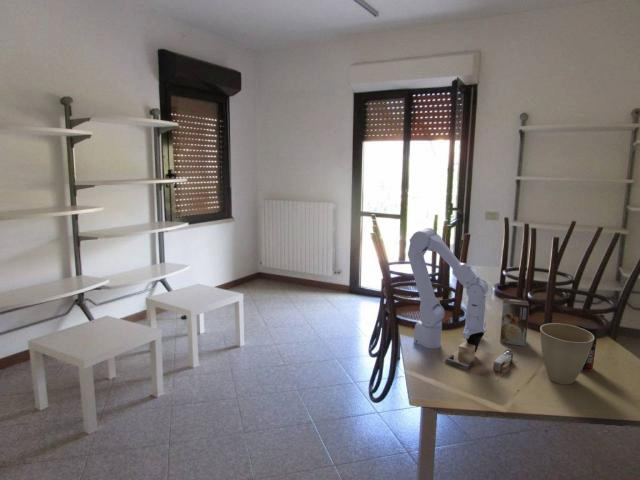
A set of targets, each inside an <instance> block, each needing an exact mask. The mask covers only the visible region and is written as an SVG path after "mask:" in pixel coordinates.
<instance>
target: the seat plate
mask: <svg viewBox="0 0 640 480" xmlns="http://www.w3.org/2000/svg"><path fill="white" fill-rule="evenodd" d="M458 353H459V348H458V349H457V350H456V351H454V352H452V353H451V354H449V355H448V356H447V357H445V358H444V359H442V360H441V362H442V363H444V364H447V365H450V366H453V367H456V368H459V369H461V370H465V371H467V372H470V373H473V374H476V375H479V376H482V377H484V378H487V379H489V380H492V381H496V382H498V381H499V380H500V379H501V378H502V377H503V376H504V375H505V374H507V373H508V371H510V370H511V369H512V368H513V367H514V366H515V365H516V364H517V363H518V361H516V360H514V359H513V362H512V363H508V362H506V363H505V364H504V365H503V366H502V370H501V372H498V371H495V370H493V365H494V361H495V360H496V359H497V358H498V357H499V356H500V355H499V354H498V355H497V354H494V353H491V352H488V351H485V350H481V349H478V348H477V351H476V352H475V356H474V360H473V361H471V362H470V363H467V362H464V361H461V360H458Z"/></svg>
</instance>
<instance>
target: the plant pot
mask: <svg viewBox="0 0 640 480" xmlns="http://www.w3.org/2000/svg"><path fill="white" fill-rule="evenodd" d="M539 332H540V335H539V336H540V345H541V346H540V347H541V353H542V358H543V364H544V366H545V371H546V375H547V377H548V378H549V379H550V380H551V381H553V382H555V383H557V384H562V385H571V384H573V383H574V382H575V381H576V380H577V378H578V377H579V375H580V374H581V373H582V371H581V370H582V368H583V366H584V364H585V362H586V360H587V358H588V355H589V353H590V350H591V347H592V344H593V341H594V335H593V334H592V333H590V332H589V331H587V330H584V329H582V328H579V327H577V325H576V326H575V325H571V324H567V323H566V324H565V323H560V322H559V323H558V322H557V323H555V322H554V323H553V322H550V323H545V324H542V325H541V326H540V327H539Z"/></svg>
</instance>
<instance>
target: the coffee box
mask: <svg viewBox="0 0 640 480" xmlns="http://www.w3.org/2000/svg"><path fill="white" fill-rule="evenodd" d="M529 311H530V304H529V301H528V300H522V299H516V298H506V297H503V298H502V308H501V321H500V332H499V342H500V343H502V344H510V345H516V346H522V347H523V346H524V347H526V345H527V333H528V323H529Z"/></svg>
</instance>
